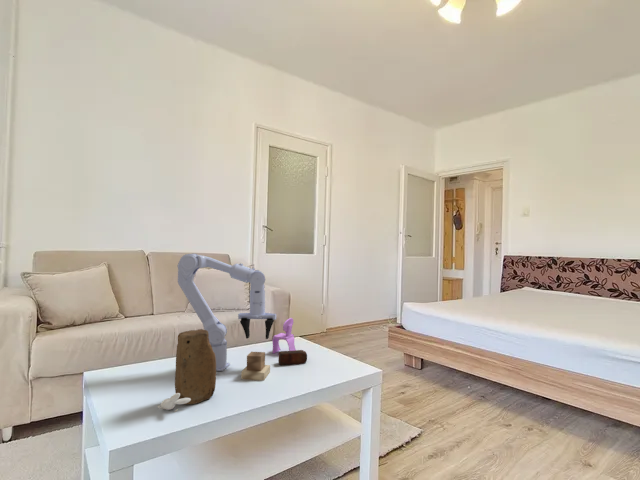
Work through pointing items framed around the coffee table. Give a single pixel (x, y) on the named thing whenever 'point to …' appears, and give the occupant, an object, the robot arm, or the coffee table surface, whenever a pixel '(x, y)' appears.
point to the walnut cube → (255, 361)
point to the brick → (292, 357)
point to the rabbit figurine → (173, 402)
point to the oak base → (255, 373)
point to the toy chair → (285, 336)
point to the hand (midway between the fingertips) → (257, 338)
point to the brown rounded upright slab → (195, 366)
